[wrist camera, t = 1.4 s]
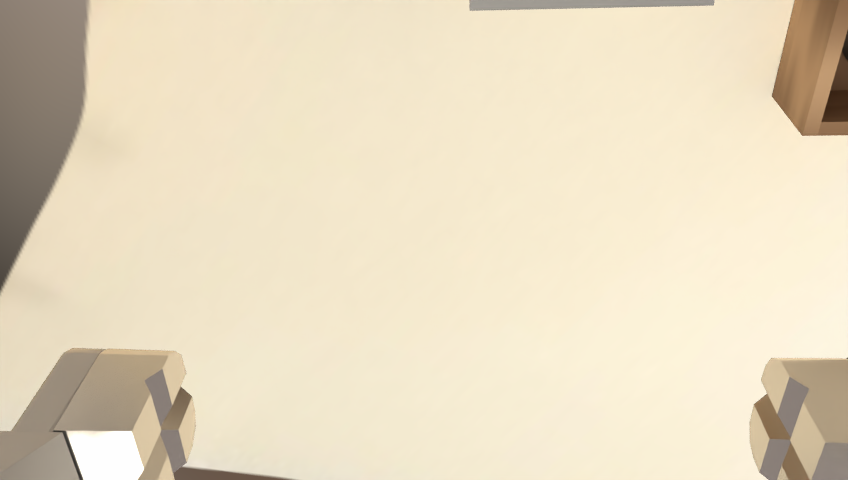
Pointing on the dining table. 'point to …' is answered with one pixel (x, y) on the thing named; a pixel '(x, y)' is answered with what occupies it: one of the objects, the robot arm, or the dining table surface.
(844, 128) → the open brown box
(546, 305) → the dining table surface
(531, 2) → the housing
